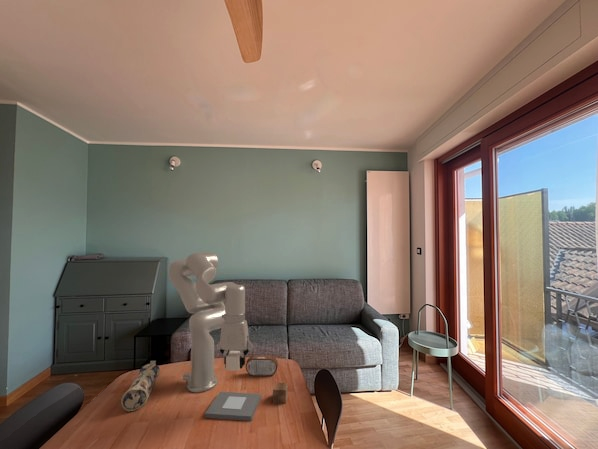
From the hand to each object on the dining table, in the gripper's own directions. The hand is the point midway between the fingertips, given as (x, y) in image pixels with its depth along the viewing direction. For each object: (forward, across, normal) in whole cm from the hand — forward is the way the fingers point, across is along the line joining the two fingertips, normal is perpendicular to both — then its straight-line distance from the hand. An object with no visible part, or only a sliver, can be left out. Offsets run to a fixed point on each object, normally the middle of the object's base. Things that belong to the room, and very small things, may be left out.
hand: (234, 365), depth 97 cm
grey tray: (+15, 0, 0) cm, 15 cm away
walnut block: (+15, +17, +6) cm, 23 cm away
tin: (+16, +5, +23) cm, 28 cm away
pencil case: (+16, -40, +3) cm, 43 cm away
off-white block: (+1, 0, 0) cm, 1 cm away
